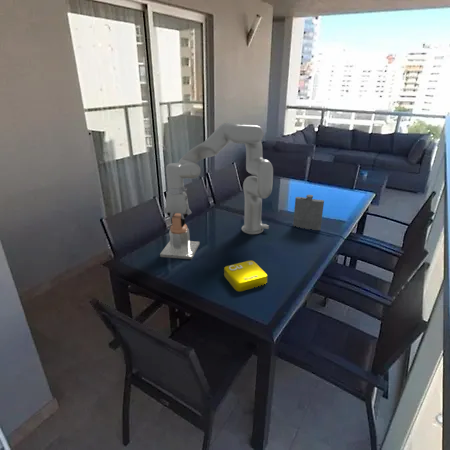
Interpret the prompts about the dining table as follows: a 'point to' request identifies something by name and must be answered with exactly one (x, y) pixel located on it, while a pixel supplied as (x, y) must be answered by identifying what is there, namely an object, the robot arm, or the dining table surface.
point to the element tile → (245, 275)
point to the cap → (177, 224)
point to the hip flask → (308, 213)
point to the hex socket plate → (180, 246)
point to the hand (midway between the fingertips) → (178, 225)
